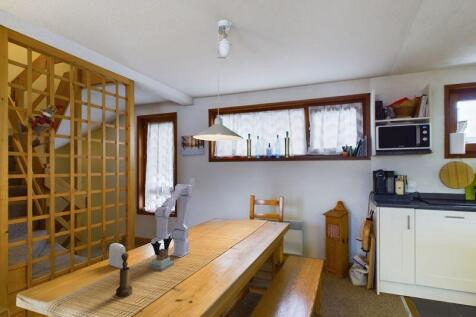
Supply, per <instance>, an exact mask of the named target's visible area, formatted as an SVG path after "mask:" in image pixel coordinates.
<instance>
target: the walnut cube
mask: <svg viewBox="0 0 476 317" xmlns="http://www.w3.org/2000/svg"><path fill="white" fill-rule="evenodd" d="M155 256H156V257H155V258H156V259H158V260H162V261H163V260H165V259H167V258H168V257H169V249H168V250H166V249H164V248H160V250H159V255H155Z"/></svg>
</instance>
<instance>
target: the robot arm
mask: <svg viewBox="0 0 476 317" xmlns="http://www.w3.org/2000/svg"><path fill="white" fill-rule="evenodd" d="M193 189H194V188H193V186H192V185H191V184H180V183H178V184H176V185H175V186H174V191H173V193H172V194H171V196H170V197H167V198H166V199H165V201H164V202H163V203H162V204H161V205H160V206H158V207H156V208H155V212H154V215H155V220H156V236H155V237H154V238H152V239H151V242H150V244H151V246H152V248H153V251H154V255H155V256H156V255H159V250H160V249H161V245H162V243H161V241H163V249H166V250H168V251H169V248H170V246H171V245H170V244H171V242H172V241H173V253H171V254H170V256H173V257H177V258H182V257H184V256H186V255H188V254H189V253H190V251H189V244H190V243H189V240H188V239H189V235H190V233H189V232H190V231H189V230H190V229H189V227H188V226H187V224H186V223H187V217H188V211H189V206H190V201H191V198H192V196H193V192H194V190H193ZM179 198H180V199H181V202H180V207H179V208H180V209H179V212H178V216H177V218H178V219H177V222H176V224H175V225H174V226H173V228H172V231H171V232H168V226H169V225H168V223H169V222H168V219H169V218H168V217H170V215H171V212H172V209H173V208H174V206H175V204H176V201H177V200H178V199H179Z"/></svg>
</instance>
